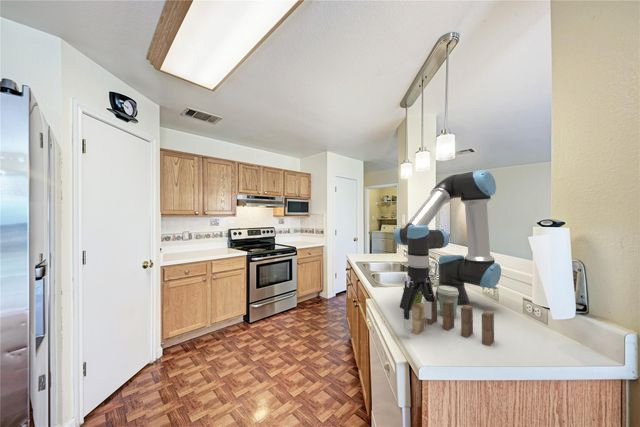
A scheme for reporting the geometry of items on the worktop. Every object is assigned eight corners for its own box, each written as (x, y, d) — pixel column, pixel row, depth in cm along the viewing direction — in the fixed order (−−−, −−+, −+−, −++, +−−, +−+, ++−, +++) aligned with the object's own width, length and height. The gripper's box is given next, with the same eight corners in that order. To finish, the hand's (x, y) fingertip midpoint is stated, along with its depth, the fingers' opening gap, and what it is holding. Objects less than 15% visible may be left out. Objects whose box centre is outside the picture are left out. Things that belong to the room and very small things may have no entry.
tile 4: (448, 325, 92) (448, 300, 92) (454, 327, 90) (453, 301, 90) (442, 328, 89) (442, 302, 89) (448, 330, 87) (448, 304, 87)
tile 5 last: (432, 319, 97) (432, 295, 97) (437, 321, 95) (437, 297, 96) (426, 322, 94) (426, 298, 94) (431, 324, 92) (431, 299, 93)
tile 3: (466, 331, 87) (466, 304, 87) (472, 333, 85) (472, 306, 85) (461, 335, 84) (460, 308, 84) (467, 338, 82) (467, 309, 82)
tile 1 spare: (419, 328, 89) (419, 302, 89) (424, 330, 87) (424, 304, 88) (412, 332, 86) (412, 305, 86) (417, 334, 84) (417, 307, 85)
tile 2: (487, 338, 82) (487, 310, 82) (494, 341, 80) (493, 312, 80) (482, 343, 78) (481, 314, 79) (489, 346, 77) (488, 316, 77)
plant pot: (400, 303, 115) (400, 286, 115) (419, 304, 114) (419, 286, 115) (406, 311, 105) (406, 292, 106) (427, 311, 105) (427, 292, 105)
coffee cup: (462, 320, 96) (462, 291, 96) (440, 318, 98) (440, 290, 98) (455, 312, 105) (454, 285, 105) (434, 310, 106) (434, 284, 106)
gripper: (425, 260, 98) (425, 311, 97) (389, 268, 83) (389, 328, 82) (443, 263, 92) (444, 317, 91) (408, 272, 77) (408, 336, 76)
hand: (418, 322), depth 87 cm, fingers open, 13 cm apart
